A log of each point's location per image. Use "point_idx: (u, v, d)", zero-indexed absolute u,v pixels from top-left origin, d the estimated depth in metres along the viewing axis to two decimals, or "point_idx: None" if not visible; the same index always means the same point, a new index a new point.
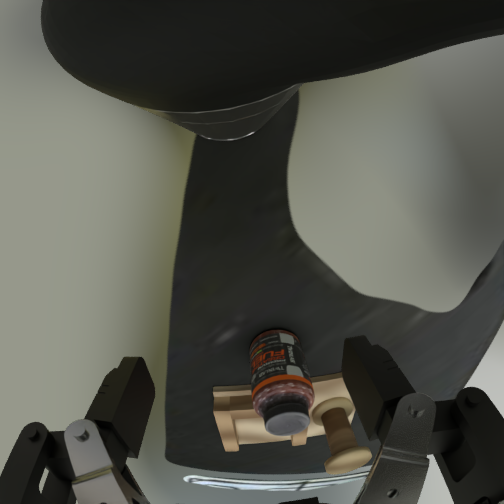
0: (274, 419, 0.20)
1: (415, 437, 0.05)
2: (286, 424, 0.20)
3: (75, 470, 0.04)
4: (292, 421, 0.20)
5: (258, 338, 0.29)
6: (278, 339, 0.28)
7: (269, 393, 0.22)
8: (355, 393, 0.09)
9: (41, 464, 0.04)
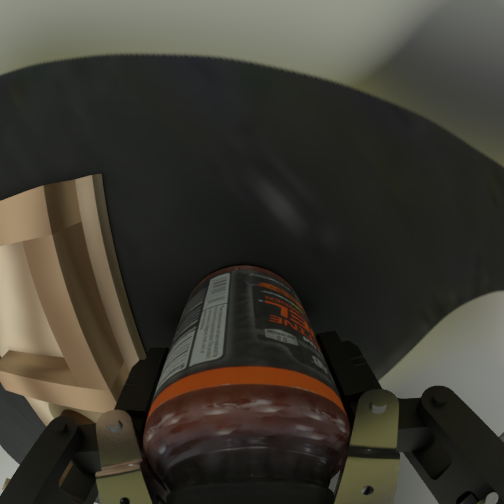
0: None
1: (381, 433, 0.05)
2: None
3: (101, 461, 0.05)
4: None
5: (289, 286, 0.13)
6: None
7: (336, 440, 0.05)
8: None
9: (65, 460, 0.05)
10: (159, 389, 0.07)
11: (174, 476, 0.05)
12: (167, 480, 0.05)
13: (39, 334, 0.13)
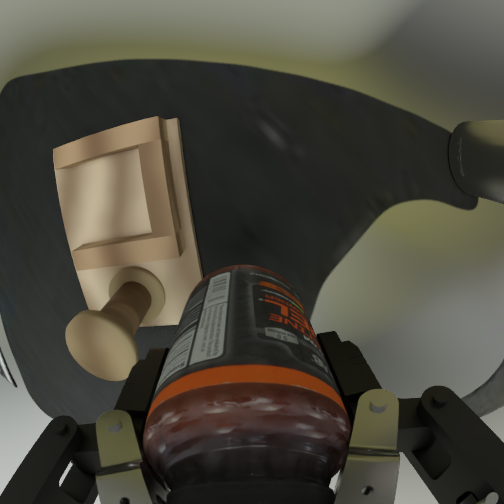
0: None
1: (381, 432, 0.05)
2: None
3: (101, 461, 0.05)
4: None
5: (289, 285, 0.13)
6: None
7: (337, 439, 0.05)
8: None
9: (65, 459, 0.05)
10: (159, 388, 0.07)
11: (174, 475, 0.05)
12: (167, 479, 0.05)
13: (119, 220, 0.24)
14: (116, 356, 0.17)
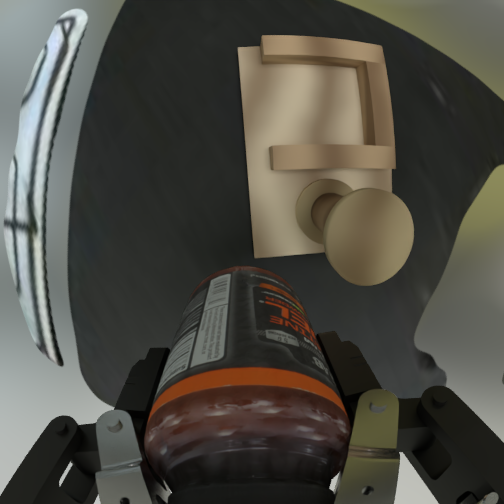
0: None
1: (381, 432, 0.05)
2: None
3: (102, 460, 0.05)
4: None
5: (289, 287, 0.13)
6: None
7: (337, 441, 0.05)
8: None
9: (65, 459, 0.05)
10: (160, 390, 0.07)
11: (175, 477, 0.05)
12: (168, 481, 0.05)
13: (322, 127, 0.23)
14: (393, 245, 0.16)
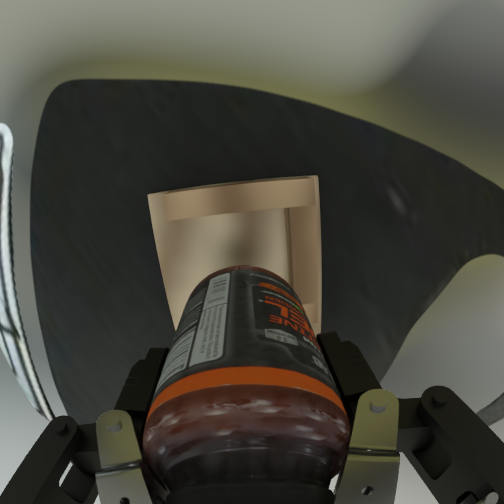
0: None
1: (381, 432, 0.05)
2: None
3: (101, 460, 0.05)
4: None
5: (289, 286, 0.13)
6: None
7: (336, 441, 0.05)
8: None
9: (65, 459, 0.05)
10: (159, 389, 0.07)
11: (174, 477, 0.05)
12: (167, 481, 0.05)
13: None
14: None
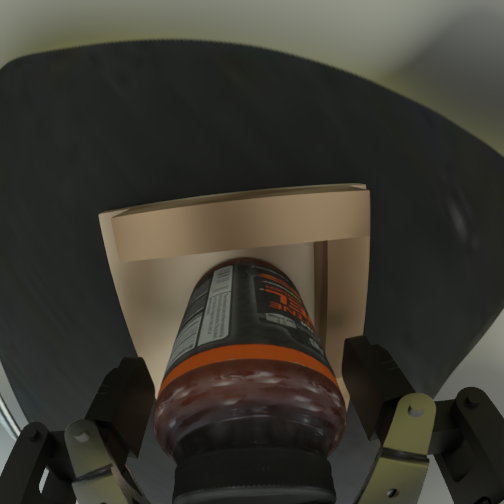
0: (309, 498, 0.04)
1: (415, 437, 0.05)
2: None
3: (75, 470, 0.04)
4: None
5: (288, 278, 0.14)
6: None
7: (332, 413, 0.06)
8: (355, 393, 0.09)
9: (41, 464, 0.04)
10: (169, 369, 0.08)
11: (183, 448, 0.05)
12: (176, 454, 0.06)
13: None
14: None
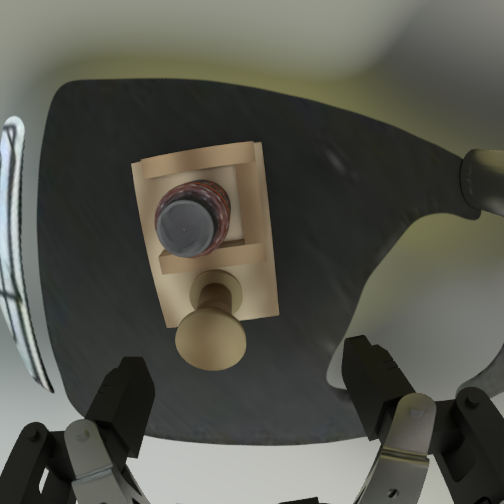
0: (199, 210, 0.18)
1: (415, 437, 0.05)
2: (187, 227, 0.18)
3: (75, 470, 0.04)
4: (194, 234, 0.18)
5: None
6: None
7: (216, 201, 0.20)
8: (355, 393, 0.09)
9: (41, 464, 0.04)
10: None
11: None
12: None
13: None
14: (228, 347, 0.23)
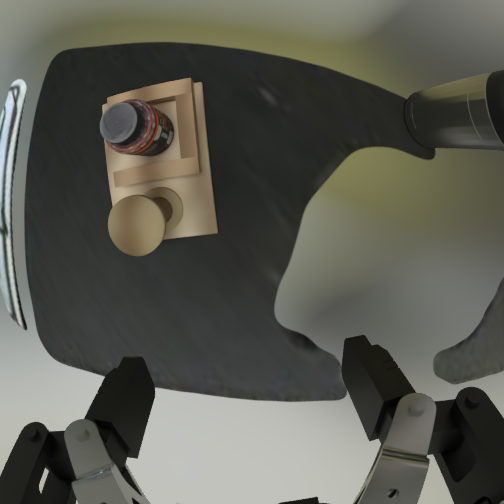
0: (128, 107, 0.21)
1: (415, 437, 0.05)
2: (119, 120, 0.21)
3: (75, 470, 0.04)
4: (123, 124, 0.21)
5: (167, 116, 0.30)
6: (170, 129, 0.30)
7: (146, 107, 0.23)
8: (355, 393, 0.09)
9: (41, 464, 0.04)
10: None
11: None
12: None
13: None
14: (149, 229, 0.26)
